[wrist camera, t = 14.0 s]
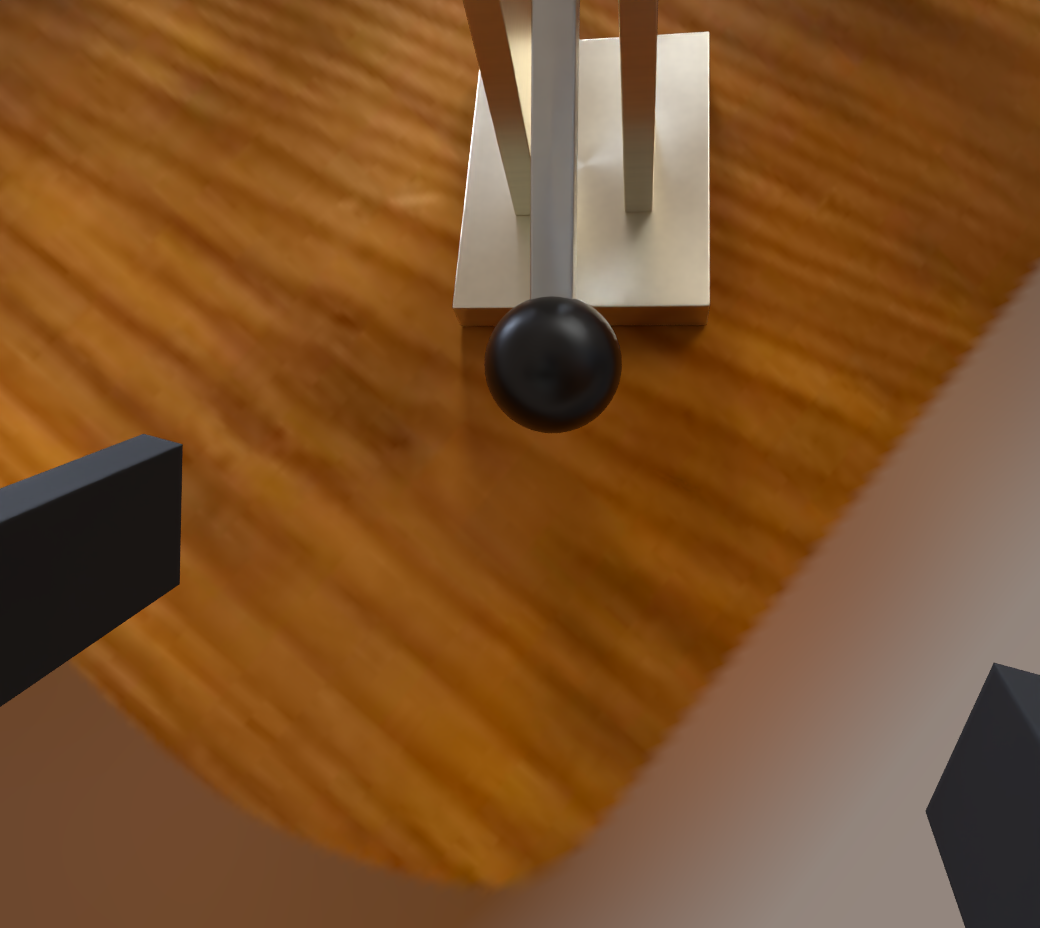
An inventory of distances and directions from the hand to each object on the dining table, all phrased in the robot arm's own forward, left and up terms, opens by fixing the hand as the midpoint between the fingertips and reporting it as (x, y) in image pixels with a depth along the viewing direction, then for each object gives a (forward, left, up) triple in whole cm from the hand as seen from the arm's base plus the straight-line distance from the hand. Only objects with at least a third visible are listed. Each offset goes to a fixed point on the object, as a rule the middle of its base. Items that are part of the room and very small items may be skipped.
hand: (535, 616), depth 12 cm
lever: (+12, -6, -5) cm, 14 cm away
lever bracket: (+16, -8, -13) cm, 22 cm away
